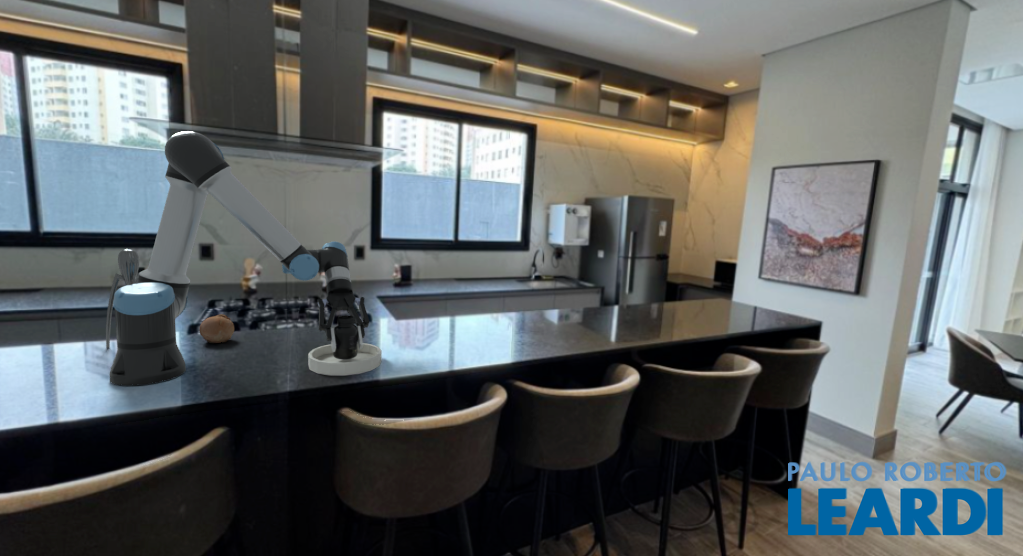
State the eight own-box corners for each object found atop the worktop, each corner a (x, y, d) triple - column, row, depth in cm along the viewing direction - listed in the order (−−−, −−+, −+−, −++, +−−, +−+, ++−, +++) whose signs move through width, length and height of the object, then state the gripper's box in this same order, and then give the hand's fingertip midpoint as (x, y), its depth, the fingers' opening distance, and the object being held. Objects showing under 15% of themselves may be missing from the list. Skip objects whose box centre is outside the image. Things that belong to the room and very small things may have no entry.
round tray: (313, 379, 116) (313, 366, 116) (305, 357, 133) (305, 346, 133) (388, 370, 126) (388, 358, 126) (372, 350, 143) (372, 340, 143)
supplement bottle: (328, 358, 127) (328, 318, 125) (342, 351, 134) (342, 313, 132) (348, 361, 125) (349, 320, 124) (362, 354, 132) (362, 315, 130)
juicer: (105, 347, 132) (98, 249, 128) (149, 339, 141) (144, 247, 137) (121, 353, 127) (114, 251, 123) (165, 345, 137) (160, 250, 133)
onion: (224, 347, 147) (234, 318, 151) (232, 346, 141) (242, 316, 144) (192, 341, 141) (202, 311, 145) (198, 339, 135) (209, 308, 138)
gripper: (368, 290, 145) (379, 351, 134) (303, 292, 135) (309, 358, 124) (372, 276, 140) (384, 339, 128) (305, 277, 130) (311, 345, 118)
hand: (347, 348), depth 126 cm, fingers closed on supplement bottle, 7 cm apart
